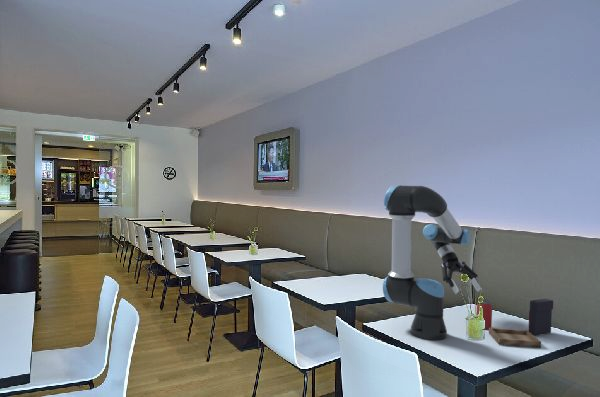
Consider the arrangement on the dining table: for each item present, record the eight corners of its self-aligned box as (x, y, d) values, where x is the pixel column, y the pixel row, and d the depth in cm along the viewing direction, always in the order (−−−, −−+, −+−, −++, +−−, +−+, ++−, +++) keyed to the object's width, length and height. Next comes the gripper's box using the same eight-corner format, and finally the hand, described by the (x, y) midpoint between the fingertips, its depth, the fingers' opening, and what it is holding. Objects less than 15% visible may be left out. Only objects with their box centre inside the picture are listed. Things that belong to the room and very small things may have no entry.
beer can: (494, 330, 189) (494, 303, 189) (479, 329, 189) (480, 303, 189) (487, 325, 195) (488, 300, 195) (473, 324, 196) (474, 299, 195)
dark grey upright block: (543, 330, 190) (544, 297, 190) (552, 333, 186) (553, 300, 186) (527, 333, 185) (528, 300, 185) (536, 336, 182) (537, 302, 181)
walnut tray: (499, 344, 171) (499, 338, 170) (488, 333, 184) (489, 327, 184) (540, 348, 168) (541, 342, 168) (527, 336, 182) (527, 330, 182)
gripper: (462, 258, 222) (483, 293, 209) (424, 260, 213) (443, 297, 200) (470, 250, 217) (492, 285, 204) (432, 252, 208) (452, 288, 195)
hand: (468, 291), depth 202 cm, fingers open, 13 cm apart
